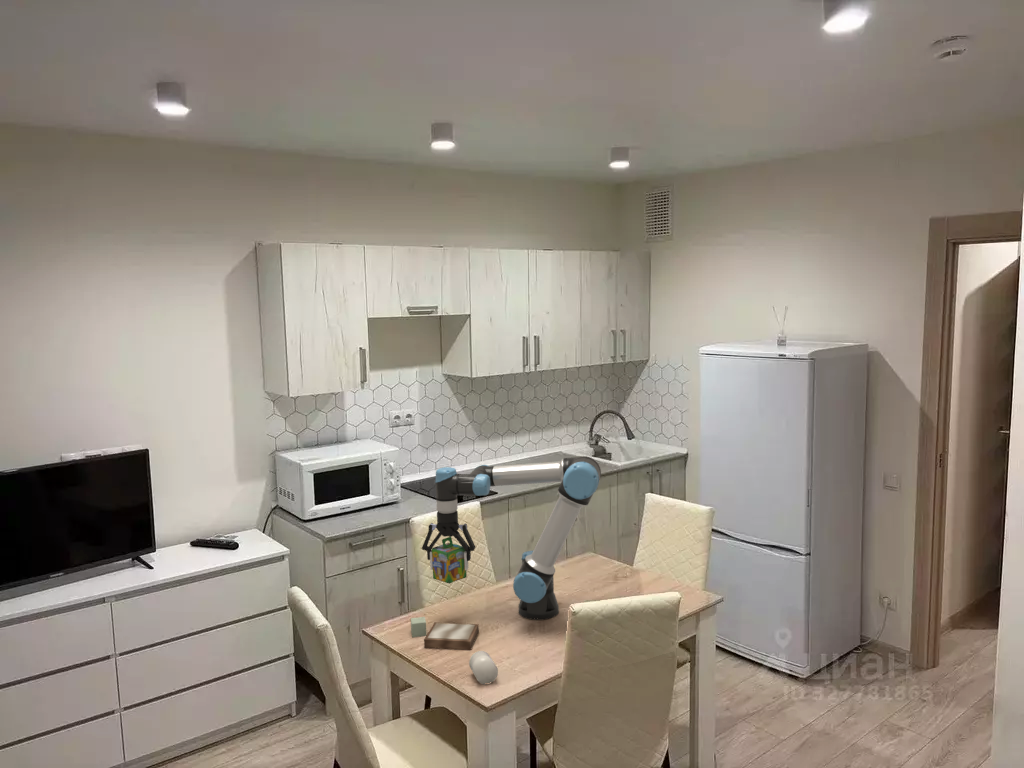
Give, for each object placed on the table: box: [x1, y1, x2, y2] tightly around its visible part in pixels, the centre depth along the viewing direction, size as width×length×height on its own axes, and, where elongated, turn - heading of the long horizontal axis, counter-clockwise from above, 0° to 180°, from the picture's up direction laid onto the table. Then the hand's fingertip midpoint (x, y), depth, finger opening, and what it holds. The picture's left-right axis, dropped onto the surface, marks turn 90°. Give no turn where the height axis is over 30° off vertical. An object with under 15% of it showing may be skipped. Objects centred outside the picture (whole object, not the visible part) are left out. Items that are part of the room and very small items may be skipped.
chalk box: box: [431, 536, 467, 584], centre depth 273 cm, size 9×9×15 cm
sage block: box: [410, 616, 428, 638], centre depth 266 cm, size 5×5×5 cm
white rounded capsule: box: [468, 650, 499, 685], centre depth 232 cm, size 7×7×8 cm
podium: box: [423, 622, 480, 651], centre depth 260 cm, size 16×14×3 cm
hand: (449, 568), depth 273 cm, fingers closed on chalk box, 12 cm apart
